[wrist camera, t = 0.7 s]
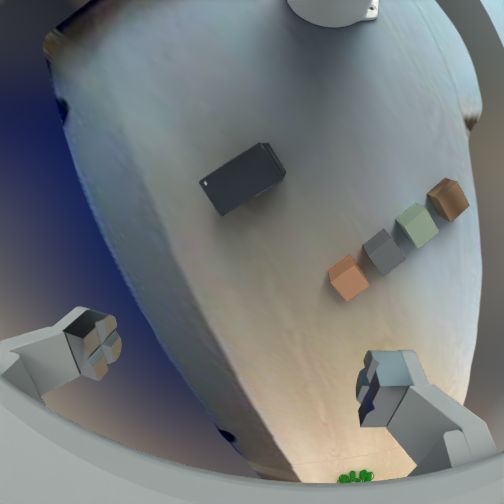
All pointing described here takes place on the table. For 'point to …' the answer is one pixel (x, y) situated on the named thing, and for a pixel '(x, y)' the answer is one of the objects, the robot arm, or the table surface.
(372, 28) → the table surface
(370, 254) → the charcoal block
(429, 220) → the sage block
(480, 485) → the robot arm
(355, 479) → the chandelier
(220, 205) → the small box
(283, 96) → the table surface
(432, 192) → the walnut block
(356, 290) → the terracotta block
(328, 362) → the table surface
